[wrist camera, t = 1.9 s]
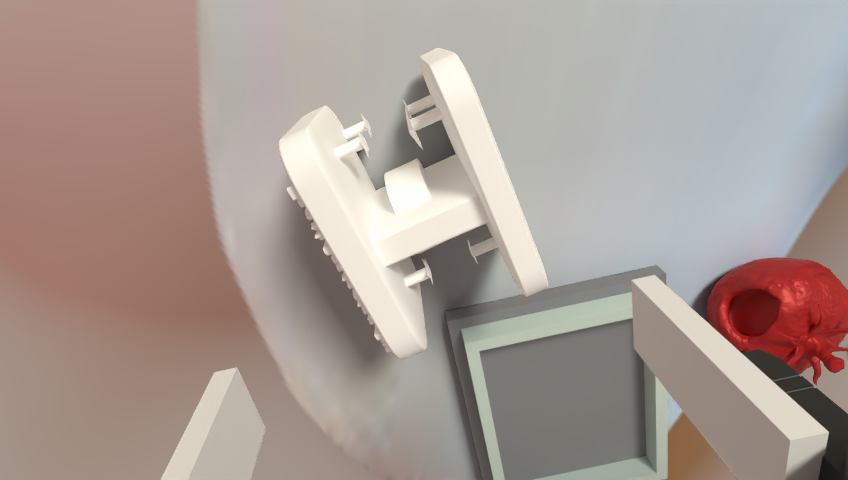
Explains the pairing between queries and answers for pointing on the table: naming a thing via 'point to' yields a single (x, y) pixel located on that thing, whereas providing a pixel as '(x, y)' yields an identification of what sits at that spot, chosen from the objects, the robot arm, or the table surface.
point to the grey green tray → (561, 384)
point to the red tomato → (783, 312)
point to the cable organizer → (409, 203)
